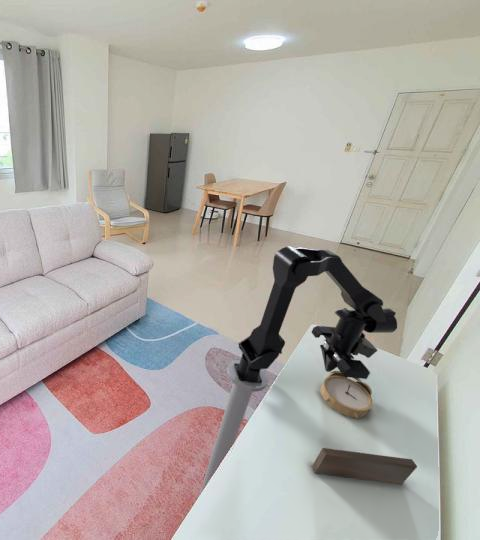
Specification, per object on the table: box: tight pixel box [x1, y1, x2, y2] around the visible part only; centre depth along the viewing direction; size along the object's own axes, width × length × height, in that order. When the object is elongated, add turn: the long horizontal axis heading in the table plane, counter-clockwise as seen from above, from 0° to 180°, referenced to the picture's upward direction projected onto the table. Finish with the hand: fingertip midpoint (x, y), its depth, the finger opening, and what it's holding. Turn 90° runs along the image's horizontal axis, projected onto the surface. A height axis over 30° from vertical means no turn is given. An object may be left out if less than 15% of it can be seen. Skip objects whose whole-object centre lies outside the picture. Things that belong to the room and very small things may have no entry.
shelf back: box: [311, 447, 418, 486], centre depth 63 cm, size 2×18×7 cm, turn 84°
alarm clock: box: [319, 370, 374, 419], centre depth 83 cm, size 11×5×15 cm
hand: (327, 371), depth 89 cm, fingers closed
